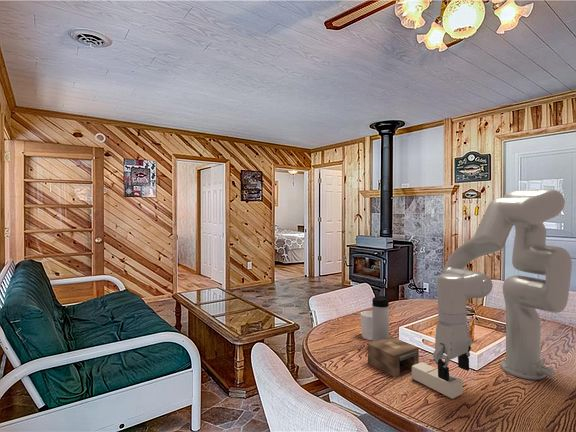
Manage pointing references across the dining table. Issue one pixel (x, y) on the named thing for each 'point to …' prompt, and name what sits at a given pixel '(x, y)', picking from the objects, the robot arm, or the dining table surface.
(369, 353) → the box
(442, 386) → the cream rectangular block
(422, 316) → the dining table surface
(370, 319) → the white cup
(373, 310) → the travel mug
